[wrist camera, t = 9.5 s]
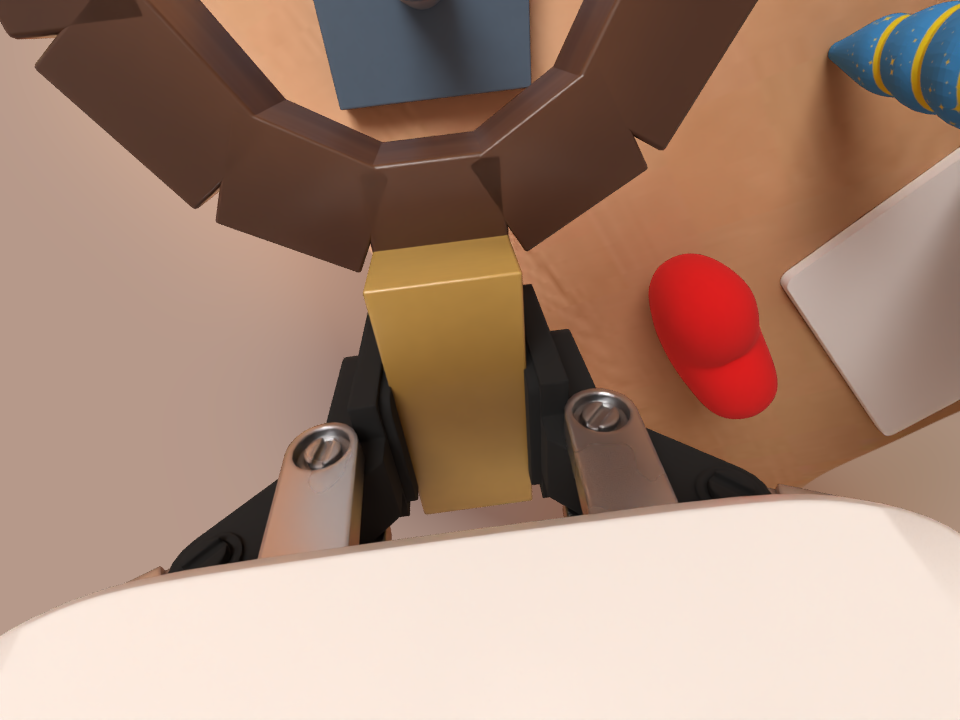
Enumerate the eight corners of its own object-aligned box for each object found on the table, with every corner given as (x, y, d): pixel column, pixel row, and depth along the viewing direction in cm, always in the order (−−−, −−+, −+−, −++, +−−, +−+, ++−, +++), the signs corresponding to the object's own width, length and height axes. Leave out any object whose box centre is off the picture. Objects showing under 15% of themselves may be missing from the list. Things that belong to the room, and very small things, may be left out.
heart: (724, 326, 36) (808, 413, 28) (659, 358, 37) (721, 450, 29) (680, 200, 30) (772, 267, 22) (604, 245, 31) (663, 323, 23)
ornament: (781, 113, 27) (1061, 188, 15) (788, 9, 24) (1146, -2, 12) (873, 80, 26) (1243, 130, 14) (892, -31, 23) (1381, -85, 11)
